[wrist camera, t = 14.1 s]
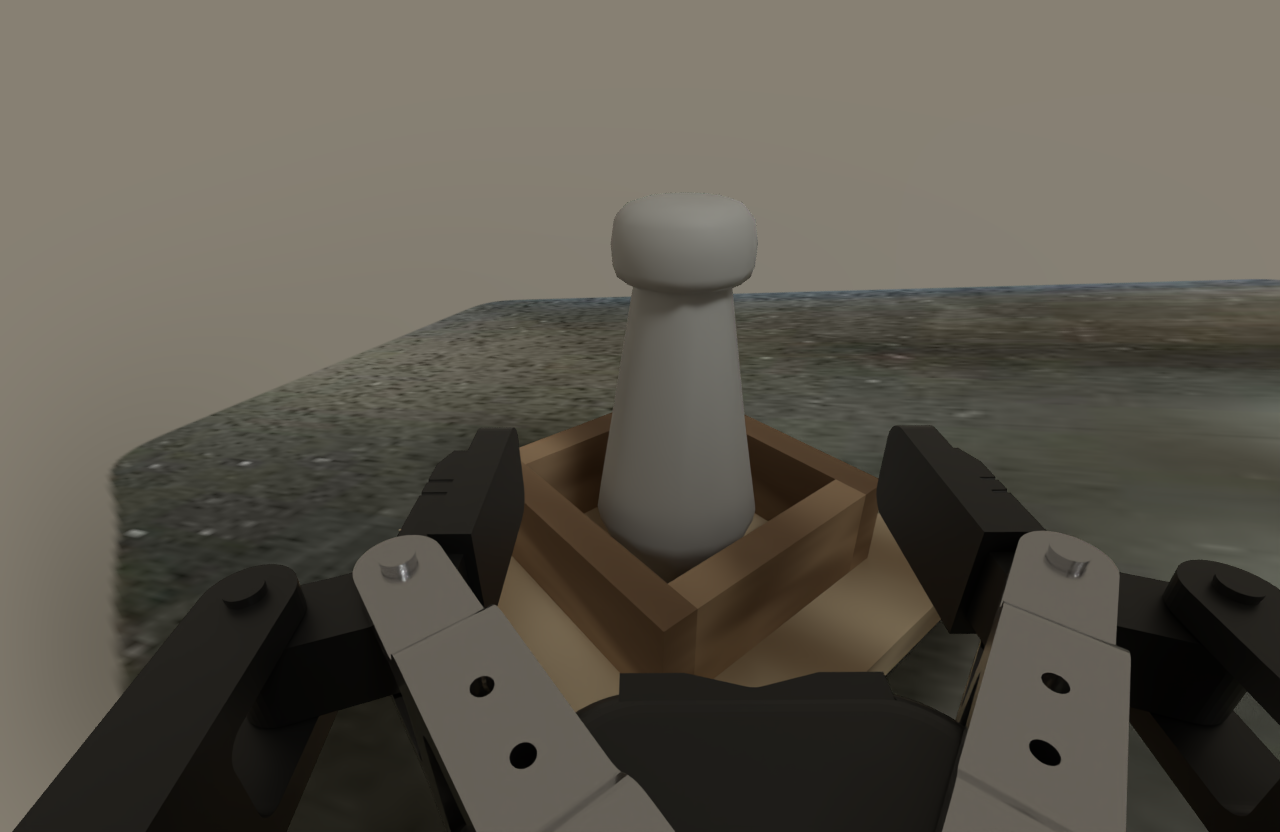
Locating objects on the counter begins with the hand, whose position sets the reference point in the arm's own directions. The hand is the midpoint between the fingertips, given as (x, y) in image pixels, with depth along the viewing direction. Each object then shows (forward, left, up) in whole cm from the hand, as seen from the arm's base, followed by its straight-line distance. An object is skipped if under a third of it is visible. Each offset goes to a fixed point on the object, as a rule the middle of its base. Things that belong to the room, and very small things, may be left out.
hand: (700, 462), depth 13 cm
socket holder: (-4, -6, -10) cm, 12 cm away
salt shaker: (-4, -5, -9) cm, 11 cm away
